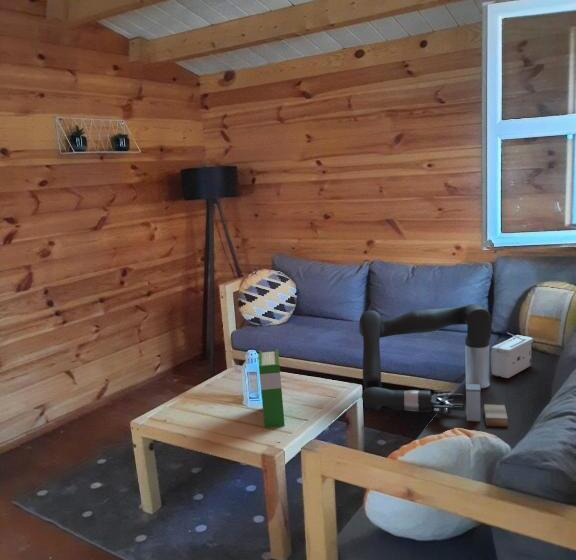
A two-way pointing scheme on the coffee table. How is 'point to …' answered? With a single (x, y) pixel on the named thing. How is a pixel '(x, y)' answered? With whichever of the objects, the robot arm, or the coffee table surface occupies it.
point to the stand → (495, 415)
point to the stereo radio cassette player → (511, 356)
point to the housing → (473, 402)
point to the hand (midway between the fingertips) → (464, 402)
